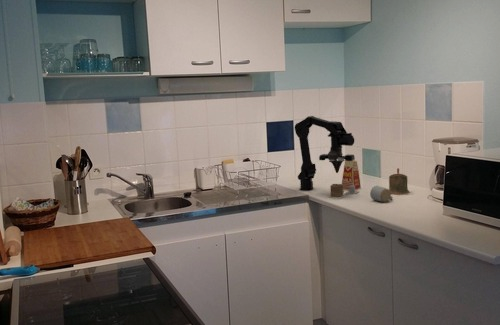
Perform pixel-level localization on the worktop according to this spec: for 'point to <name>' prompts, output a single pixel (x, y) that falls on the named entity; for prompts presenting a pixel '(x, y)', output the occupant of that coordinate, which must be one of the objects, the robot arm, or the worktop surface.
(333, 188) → the brown rectangular block
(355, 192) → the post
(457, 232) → the worktop surface
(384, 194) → the ceramic mug
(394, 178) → the rusty brown bell
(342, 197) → the post
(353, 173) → the milk carton
